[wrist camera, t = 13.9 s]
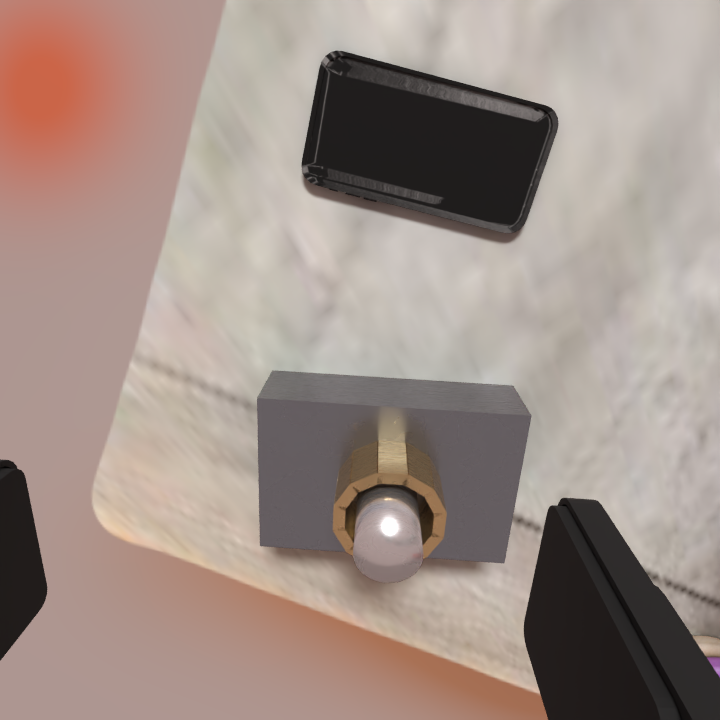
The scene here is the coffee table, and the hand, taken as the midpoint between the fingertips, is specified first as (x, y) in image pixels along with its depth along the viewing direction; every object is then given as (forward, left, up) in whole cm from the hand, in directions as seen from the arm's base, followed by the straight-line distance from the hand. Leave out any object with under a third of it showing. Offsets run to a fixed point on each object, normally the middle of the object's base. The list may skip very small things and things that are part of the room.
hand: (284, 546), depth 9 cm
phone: (-4, -8, -29) cm, 30 cm away
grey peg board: (-3, +14, -28) cm, 32 cm away
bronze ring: (-3, +14, -23) cm, 27 cm away
